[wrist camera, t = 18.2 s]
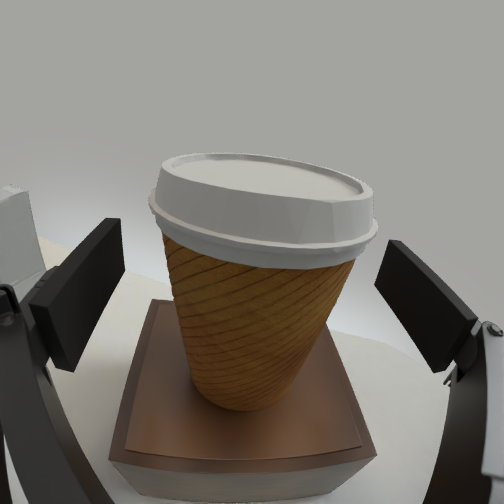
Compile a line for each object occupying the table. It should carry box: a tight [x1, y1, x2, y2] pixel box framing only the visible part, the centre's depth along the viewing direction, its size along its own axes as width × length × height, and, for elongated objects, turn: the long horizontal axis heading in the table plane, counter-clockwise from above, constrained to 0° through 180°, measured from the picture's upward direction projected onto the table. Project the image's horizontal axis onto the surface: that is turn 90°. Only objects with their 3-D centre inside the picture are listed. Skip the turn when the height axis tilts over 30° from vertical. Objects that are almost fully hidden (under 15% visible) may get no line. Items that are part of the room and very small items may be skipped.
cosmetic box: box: [0, 184, 47, 303], centre depth 23 cm, size 8×7×16 cm
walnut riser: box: [108, 299, 377, 503], centre depth 18 cm, size 14×14×8 cm
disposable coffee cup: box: [148, 153, 378, 411], centre depth 14 cm, size 10×10×12 cm
